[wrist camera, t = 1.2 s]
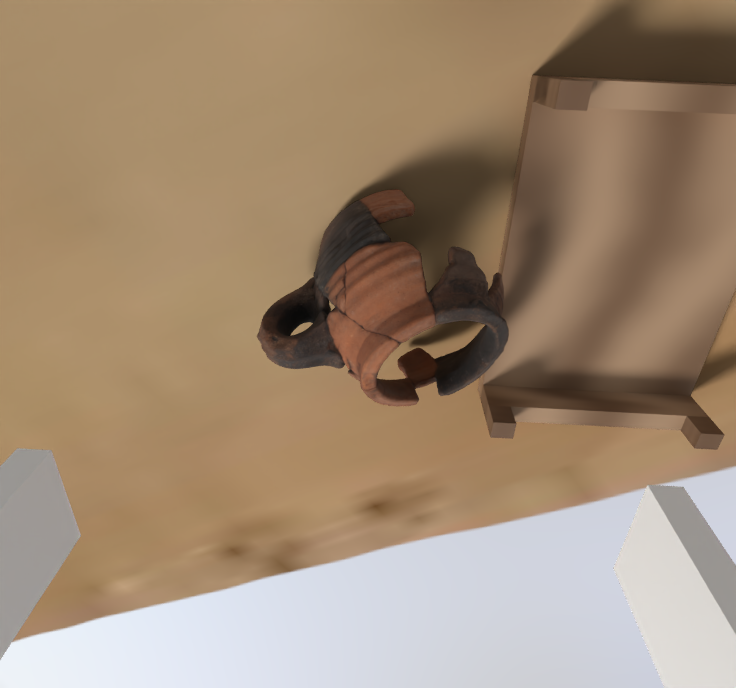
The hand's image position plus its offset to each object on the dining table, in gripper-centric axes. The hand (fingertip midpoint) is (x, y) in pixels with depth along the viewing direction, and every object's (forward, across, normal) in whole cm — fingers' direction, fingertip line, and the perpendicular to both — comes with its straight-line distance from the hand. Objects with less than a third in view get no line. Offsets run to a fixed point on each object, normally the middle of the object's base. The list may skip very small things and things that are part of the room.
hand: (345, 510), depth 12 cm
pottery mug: (+19, -1, -1) cm, 19 cm away
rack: (+18, +13, 0) cm, 22 cm away
